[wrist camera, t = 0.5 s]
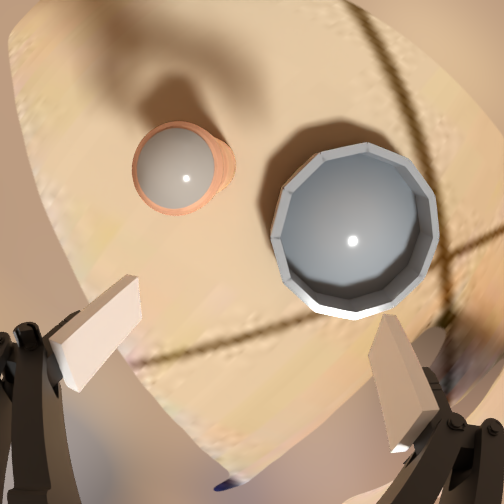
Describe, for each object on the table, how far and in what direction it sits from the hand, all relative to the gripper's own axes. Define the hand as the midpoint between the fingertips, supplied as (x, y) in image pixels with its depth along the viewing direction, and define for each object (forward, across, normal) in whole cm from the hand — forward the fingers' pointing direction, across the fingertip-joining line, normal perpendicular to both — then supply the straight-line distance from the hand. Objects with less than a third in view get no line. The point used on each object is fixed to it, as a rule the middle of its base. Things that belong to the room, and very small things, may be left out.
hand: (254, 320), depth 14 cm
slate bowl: (+22, +9, 0) cm, 24 cm away
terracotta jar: (+21, -9, +6) cm, 23 cm away
